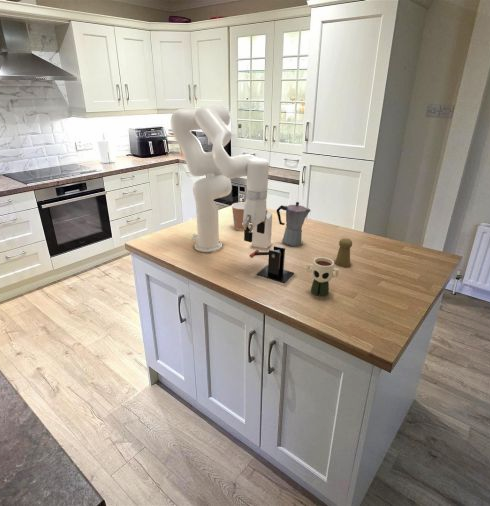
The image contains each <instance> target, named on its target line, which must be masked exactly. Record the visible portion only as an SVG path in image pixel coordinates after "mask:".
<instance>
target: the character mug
mask: <svg viewBox="0 0 490 506" xmlns="http://www.w3.org/2000/svg"><path fill="white" fill-rule="evenodd" d="M310 268H312V269H310ZM306 272H307V273H310V274H311V277H312V279H313V281H312V284H311V288H310V293H311V294H312V295H314V296H315V297H318V296H319V298H320V297H321V298H322V297H327V296H329V293H330V283H329V282H330V281H331V280H332V279H333V278H338V277H339V273H340V269H339V268H336V267H335V261H334V260H333V259H331V258H329V257H323V256H318V257H315V258H314V259H313V261H312V263H307V264H306ZM334 272H335V273H334Z"/></svg>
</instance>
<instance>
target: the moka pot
mask: <svg viewBox="0 0 490 506" xmlns="http://www.w3.org/2000/svg"><path fill="white" fill-rule="evenodd" d="M281 210H282V211H285V222H286V224H285V222H282V216H281V212H280V211H281ZM310 212H312V210H311V209H310V208H308V207H305V206H304V205H300V202H299V201H296V202H295V204H289V205H279V207H278V208H277V209H276V215H277V219H278V223H279V225H282V226H286V227H285V230H284V233H283V237H282V239H281V240H282V243H283V244H285V245H287V246H290V247H297V246H300V245H301V244H302V233H303V230H302V228H303V225H304V223H305V220H306V218H307V216H308V215H309V213H310Z"/></svg>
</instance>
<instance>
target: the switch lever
mask: <svg viewBox="0 0 490 506" xmlns="http://www.w3.org/2000/svg"><path fill="white" fill-rule="evenodd" d="M273 250H276V251H280V252H281V249H274V248H273ZM281 255H282V253H281V254H280V256H281ZM255 256H269V251H260V250H259V249H256V250H254V251H253V252H252V253H250V254H249V258H250V259H253V258H254V257H255Z"/></svg>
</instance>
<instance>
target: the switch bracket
mask: <svg viewBox="0 0 490 506" xmlns="http://www.w3.org/2000/svg"><path fill="white" fill-rule="evenodd" d="M274 249H281V252H280V251H276V250H274ZM268 252H269V255H268V259H267V260H268V261H267V262H268V263H267V264H266V265H265V266H264V267H263V268H262V269H261V270H259V271H258V272H257V273H256V276H258V277H260V278H261V277H262V278H264V279H268V280H271V281H275V282H278V283H282V284H286V283H288V281H289V280H290V279H291V278H292V277H293V276H294V275H295V272H294V271H290V270H286V269H285V259H286V258H285V257H286V256H285V255H286V247H284V246H279V245H273V248H272V249H271V248H270V249H269V250H268ZM281 253H282V255H281V256H280V254H281Z"/></svg>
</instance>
